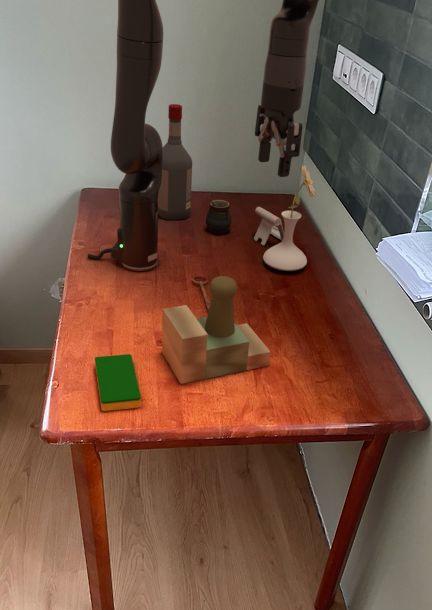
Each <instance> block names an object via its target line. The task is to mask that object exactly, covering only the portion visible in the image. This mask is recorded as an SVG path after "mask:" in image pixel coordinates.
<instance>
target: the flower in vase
mask: <svg viewBox="0 0 432 610" xmlns="http://www.w3.org/2000/svg"><path fill="white" fill-rule="evenodd" d="M301 174H302V175H301V176H302V179H303V182H302V183H301V185H300V186H299V188H298V189H297V191H296V193H295V195H294V198H293V201H292V204H291V205H290V206H288V207H287V209H291V210H284V211H282V212H281V217H282V218H283V222H284V238H283V240H282V241H280V242H279V243H277V244H275V245H273V246H271V247H269V248H268V249H267V250H266V251H265V252H264V254H263V256H262V260H263V262H264V263H265V264H266V265H267V266H268V267H270V268H271V269H275V270H277V271H282V272H294V271H299V270H302V269H303V268H305V266H306V265H307V262H308V260H307V256H306V254H304V252H303V251H302V250H301V249H300V248H298V246H297V245H296V244H295V243H294V239H293V237H294V233H295V228H296V225H297V223H298V221H299V220H300V219H301V218H302V217H303V215H302V214H301V213H300V212H299V211H295V210H294V208H298V207H299V205H300V203H301V199H300V195H298V194H299V192H300V191H301V189H302V188H303V186H305V188H306V191H307V193H308V196H309V197H310V198H315V197H316V195H315V193H316V190H315V188H314V186H313V184H314V181H313V179H311V174H310V170H307V166H306V165H302V166H301Z"/></svg>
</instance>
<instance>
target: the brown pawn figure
mask: <svg viewBox="0 0 432 610" xmlns="http://www.w3.org/2000/svg"><path fill="white" fill-rule="evenodd" d="M237 291H238V286H237V282H236V281H235V279H233V278H232V277H229V276H226V275H218V276H216V277H214V278H212V280H211V281H210V282H209V293H210V295H211V297H210V300H211V301H210V306H209V310H208V309H207V315H206V316H207V320H206V324H205V331H206V332H207V333H208V334H209V335H211V336H214V337H219V338H224V337H229V336H231V335H233V334H234V332H235V324H236V322H235V321H236V320H235V306H234V305H235V304H234V297H235V296H236V294H237Z"/></svg>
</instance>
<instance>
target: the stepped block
mask: <svg viewBox="0 0 432 610" xmlns="http://www.w3.org/2000/svg"><path fill="white" fill-rule="evenodd" d="M206 320H207V315H205V316H202V317H196V316H195V314H194V313H193V312H192V311H191V309H190V308H189V307H188V305H187V304H184V305H178V306H172V307H171V306H170V307H166V308H162V323H161V325H162V326H161V328H162V329H161V331H162V332H161V333H162V335H161V338H162V339H161V352H162V355H163V357H164V358H165V360H166V362H167V364H168V365H169V367H170V368H171V370H172V371H173V373H174V375H175V377H176V378H177V380H178V382H179V383H180V385H183V384H188V383H192V382H197V381H203V380H206V379H212V378H217V377H221V376H226V375H231V374H236V373H240V372H246V371H249V370H250V371H251V370H254V369H260V368H264V367H269V365H270V357H271V351H270V349H269V348H268V347H267V345H265V343H264V342H263V341H262V339H260V337H259V336H258V335H257V334H256V333H255V331H254V329H252V327H251V326H250V325H249V324H248V323H242V324H236V323H235V332H234V334H233V335H231V336H229V337H224V338H219V337H214V336H211V335H209V334H208V333H207V332H206V331H205V324H206Z"/></svg>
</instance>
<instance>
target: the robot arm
mask: <svg viewBox="0 0 432 610" xmlns="http://www.w3.org/2000/svg"><path fill="white" fill-rule="evenodd" d="M319 2H320V0H282V3H281V7H280V10H279V12H278V13H276V15H274V17H272V19H271V22H270V26H269V27H270V28H269V34H268V35H269V36H268V44H267V51H266V52H267V54H266V59H265V61H264V62H265V63H264V68H263V69H264V70H263V79H262V89H261V99H260V104H258V105H257V111H256V119H255V120H256V121H255V128H254V136H255V137H257V140H258V142H259V146H258V147H259V149H258V157H257V160H258V162H260V163H267V162H269V161H270V158H271V155H270V154H271V148H272V141H273V139H274V142H275V145H276V146H277V147H278V151H279V159H278V168H277V176H278V177H279V178H288V176H290V171H291V164H292V159H293V158H298V157H300V154H301V153H300V152H301V146H302V145H301V144H302V136H303V135H302V134H303V123H302V122H295V120H294V119H295V117H294V116H295V113H296V112H298V111H299V110H300V109H301V107H302V100H303V93H304V87H305V79H306V71H307V55H308V48H309V41H310V33H311V32H310V31H311V25H312V22H313V21H314V17H315V14H316V11H317V8H318V4H319ZM163 48H164V24H163V20H162V16H161V12H160V9H159V6H158V2H157V0H117V28H116V74H115V75H116V76H115V98H114V99H115V100H114V111H113V112H114V113H113V118H112V119H113V120H112V126H111V127H112V128H111V135H110V154H111V158H112V161H113V163H114V166H115V167H116V168H117V170H119V171H120V173H123V174H125V175H124V177H123V178H122V180H121V181H120V183H119V185H118V209H119V210H118V211H119V227H118V228H117V230H116V236H117V237H116V238H117V241H116V243H115V244H114V245H113V246H112V247H111V248H105V249H103V250H101V251H100V252H99V253H98V254H97V255H96V254H90V253H88V254H87V259H90V260H91V259H92V260H101V259H102V258H103V256H104V255H105V254H109V253H110V258H111V259H114V260H117V262H118V266H119V267H123V268H124V269H126V270H128V271H132V272H147V271H151V270H153V269H156V268H157V267H158V265H159V213H158V191H159V188H160V186H161V181H162V165H163V147H164V145H163V141H162V138H161V135H160V133H159V132H158V130H157V129H156V128H155V127H154V126H152V125H151V124H148V123H146V116H147V115H146V114H147V109H148V106H149V102H150V99H151V96H152V94H153V91H154V88H155V86H156V85H157V84H156V83H157V81H158V78H159V74H160V71H161V68H162V61H163V51H164V50H163ZM261 125H262V126H261Z"/></svg>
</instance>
